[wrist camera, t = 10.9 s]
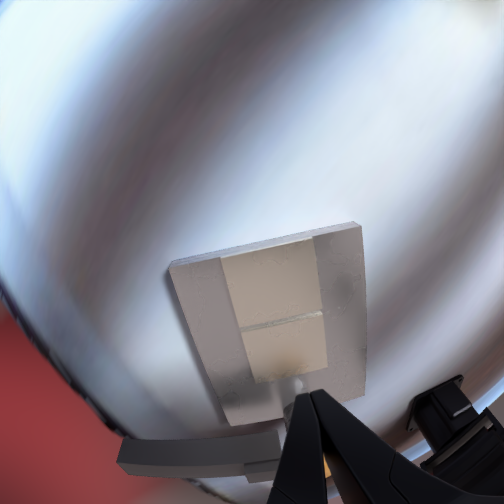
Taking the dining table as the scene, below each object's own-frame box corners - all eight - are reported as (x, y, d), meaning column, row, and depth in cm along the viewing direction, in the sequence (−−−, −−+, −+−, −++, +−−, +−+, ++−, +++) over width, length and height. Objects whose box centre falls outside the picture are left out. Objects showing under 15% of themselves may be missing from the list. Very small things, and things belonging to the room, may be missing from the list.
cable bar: (324, 414, 17) (338, 456, 13) (325, 437, 18) (336, 476, 14) (119, 434, 17) (108, 471, 13) (137, 455, 18) (129, 490, 14)
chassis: (359, 391, 21) (385, 444, 15) (232, 420, 21) (233, 480, 15) (353, 221, 16) (408, 253, 11) (172, 261, 17) (143, 313, 11)
